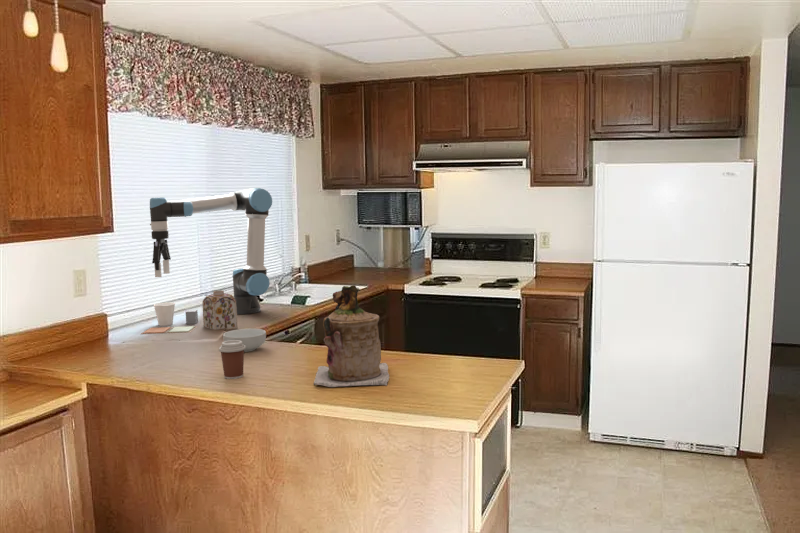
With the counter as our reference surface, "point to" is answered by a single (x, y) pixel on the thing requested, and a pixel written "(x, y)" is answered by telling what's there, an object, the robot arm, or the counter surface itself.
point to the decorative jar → (220, 311)
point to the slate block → (191, 317)
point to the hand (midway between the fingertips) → (162, 275)
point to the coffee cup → (232, 358)
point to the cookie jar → (351, 345)
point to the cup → (164, 313)
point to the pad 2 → (182, 329)
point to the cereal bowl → (247, 337)
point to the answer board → (169, 330)
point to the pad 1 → (157, 330)
